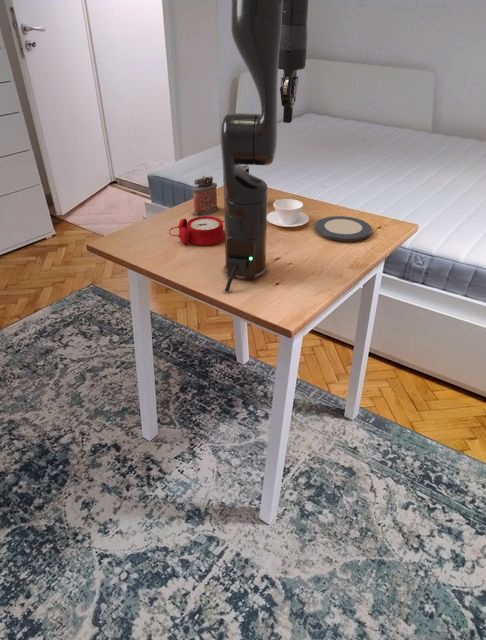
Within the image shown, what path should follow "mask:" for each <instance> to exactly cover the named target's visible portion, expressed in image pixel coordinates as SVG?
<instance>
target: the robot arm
mask: <svg viewBox="0 0 486 640" xmlns="http://www.w3.org/2000/svg"><path fill="white" fill-rule="evenodd" d="M230 15H231V17H230V21H231V22H230V31H231V37H232V40H233V43H234V45H235V47H236V49H237V51H238V54H239V56H240V57H241V59H242V61H243V63H244V64H245V67H246V68H247V71H248V72H249V74H250V77H251V80H252V81H253V84H254V86H255V89H256V91H257V94H258V98H259V102H260V113H244V112H243V113H239V112H237V113H236V112H233V113H232V112H229V113H227V114H225V115H224V116H223V118H222V121H221V124H220V151H221V160H222V178H223V179H222V181H223V212H224V213H223V215H224V216H223V217H224V218H223V219H224V220H223V221H225V222H224V230H225V231H224V232H225V239H224V255H225V256H224V257H225V265H224V270H225V273H226V274H227V278H228V279H227V283H226V285H225V288H224V291H225V292H226V293H228V292H229V291H230V289H231V285H232V282H233V279H238V280H239V279H240V280H246V281H255V279H256V278H259V277H262V276H263V275H264V274H265V273H266V271H267V268H266V267H267V265H266V262H267V261H266V257H267V226H268V221H267V215H268V194H269V190H268V189H269V187H268V184H267V183H266V181H265V180H263V179H261V178H260V177H257V176H255V175H253V174H251V173H250V172H249V173H247V172H246V171H245V170H244V169H243V168H242V167H241V166H240V164H242V165H248V166H270V165H272V164H273V162H274V160H275V157H276V153H277V143H278V79H279V78H278V77H279V76H278V75H279V70H282V71H283V74H282V77H280V86H279V93H280V94H279V95H280V102H281V103H280V104H281V106H282V108H283V112H282V113H283V115H282V116H283V117H282V122H283V123H285V124H291V123H292V122H293V112H294V106H295V103H296V99H297V98H296V97H297V95H298V94H297V92H298V85H299V76H297V75H298V74H297V73H298V71H300V70H304V69H306V62H307V49H308V47H307V46H308V45H307V44H308V20H309V19H308V17H309V0H231V13H230Z"/></svg>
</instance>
